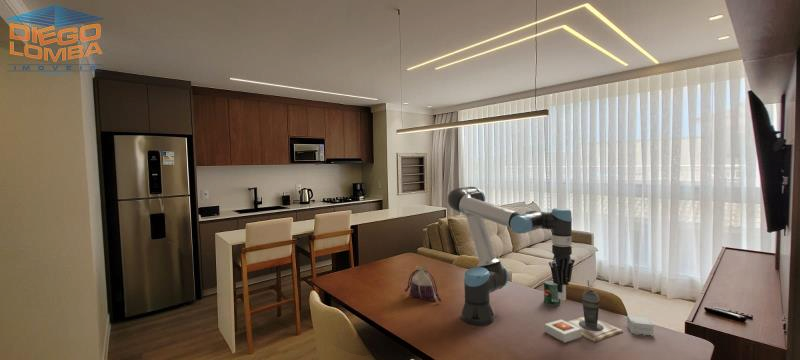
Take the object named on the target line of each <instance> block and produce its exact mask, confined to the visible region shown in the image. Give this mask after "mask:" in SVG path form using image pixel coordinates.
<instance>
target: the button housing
mask: <svg viewBox="0 0 800 360" xmlns="http://www.w3.org/2000/svg"><path fill="white" fill-rule="evenodd" d="M556 323H566V324H568V325H569V326H570V330H567V331H562V330H560V329H558V328H556ZM544 332H545V333H546V334H548V335H550V336H552V337H554V338H555V339H557V340H559V341H561V342H563V343H567V342H570V341H571V342H572V341H575V340H577V339H580V338H582V336H581V328H579V327H576V326H574V325H572V324H570V323H568V322H567V321H566V320H564V319H562V318H561V319H558V320H554V321H550V322H547V323H544Z"/></svg>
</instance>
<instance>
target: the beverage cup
mask: <svg viewBox="0 0 800 360" xmlns="http://www.w3.org/2000/svg"><path fill="white" fill-rule="evenodd" d="M586 281H587V287H588V290H585V291H584V292H583V293H582V295H581V298H580V299H581V303H582V309H583V317H584V319H585V325H586V326H587V327H589V328H597V323H598V320H599V307H600V304H601V300H600V296H599V295H598V293H597V292H595V291H594V290H590V289H591V288H590V280H588V279H587V280H586Z"/></svg>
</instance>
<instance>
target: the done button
mask: <svg viewBox="0 0 800 360" xmlns="http://www.w3.org/2000/svg"><path fill="white" fill-rule="evenodd" d="M556 328H558V329H560V330H562V331H567V330H570V326H569V325H568V324H566V323H556Z"/></svg>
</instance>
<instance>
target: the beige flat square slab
mask: <svg viewBox="0 0 800 360" xmlns="http://www.w3.org/2000/svg"><path fill="white" fill-rule="evenodd" d="M566 322H568V323H570V324H572V325H574V326H576V327H579V328H581V337H584V338H586V339H588V340H590V341H591V342H593V343H594V342H599V341H601V340H604V339H607V338H610V337H612V336H616V335H618V334H621V333H623V329H621V328H619V327H617V326H614V325H613V324H612V325H611V324H609V323H607V322H606V321H603V320H600V319H598V323H597V328H589V327H587V326H586V325H585V319H584V316H581V317H578V318H575V319H571V320H569V321H568V320H567V321H566Z"/></svg>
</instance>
